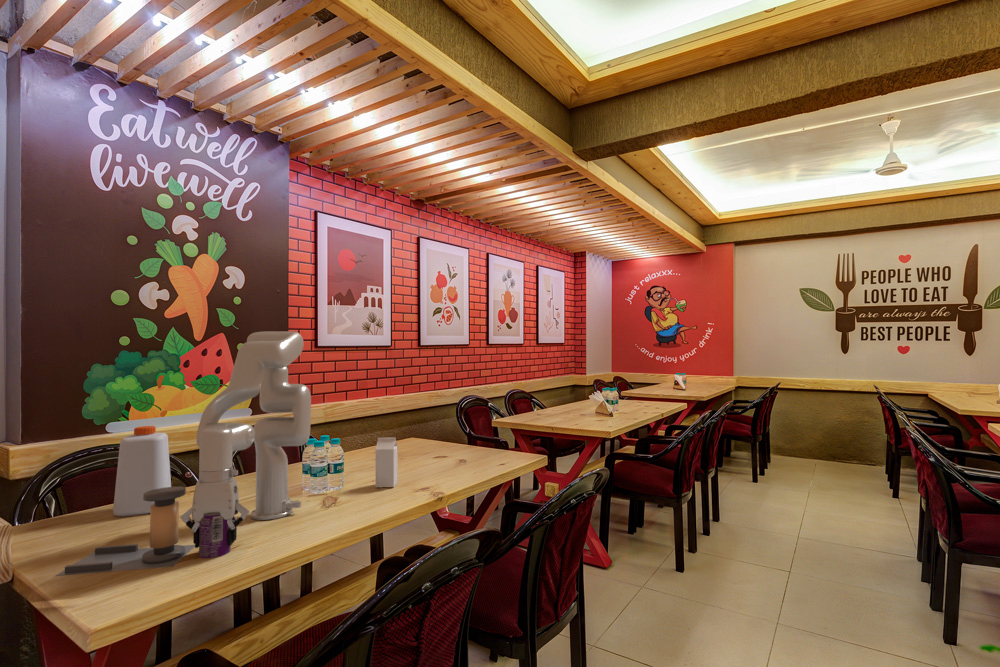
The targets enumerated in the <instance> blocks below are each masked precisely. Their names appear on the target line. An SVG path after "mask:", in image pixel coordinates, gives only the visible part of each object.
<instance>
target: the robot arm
mask: <svg viewBox="0 0 1000 667" xmlns="http://www.w3.org/2000/svg"><path fill="white" fill-rule="evenodd" d="M304 343H305V342H304V338H303V336H302V335H301V334H300V333H299V332H297V331H290V330H289V331H287V330H286V331H283V330H282V331H276V330H275V331H273V330H272V331H270V330H269V331H267V330H266V331H257V332H252V333H251V334H249V335H248V336H247V338H246V342H244V343H243V344H242V345H240V347H239V349H238V351H237V355H236V358H235V360H234V365H233V368H232V371H231V375H230V379H229V381H228V382H229V383H228V385H227V386H226V388H225V389H224V390H222V391H220V392H219V393H218V394H217V395H216V396H215V397H214V398H213V399H212V400H211V401H210V402H209V403H208V404H207V405H206V406H205V409H204V410H203V412H202V414H201V417H200V420H199V424H198V427H197V430H196V439H195V440H196V445H197V446H198V448H199V455H198V456H199V460H198V461H199V464H198V467H199V468H198V469H199V470H198V471H199V472H198V481H197V482H196V484H195V488H194V493H193V499H192V507H190V508H189V509H188V510H187V511H185V512H184V513H183V514H182V515H181V516H180V519H181V521H182V522H183V523H184V524H185V525H186V526H187V527H188V528H189V529H190V531H191V532H192V535H193V538H192V540H193V541H192V542H193V545H195V547H194V548H195V549H199V525H200V520H201V519H202V518H203V516H204V515H203V514H214V513H221V514H220V515H221V516H222V517H223V518H224V519H225V520H227V524H228V526H229V527H230V529H229V530H228V546H230V545H231V546H232V545H233V543H235V541H236V540H237V535H238V534H237V529H238V528H237V527H238V526H239V525H240V524H241V523H242V522H243V521H244V519H246V517H247V516H248V515H249V514H250V518H251V519H253V520H256V521H257V520H258V521H269V520H275V519H281V518H284V517H286V516H289V515H290V514H291V513H293V511H294V510H293V509H297V508H298V509H299V508H300V509H301V508H302V501H300V500H292V499H291V496H289V495H288V493H289V492H288V485H289V484H288V482H289V480H288V478H289V476H288V472H289V470H288V468H289V460H288V455H287V454H286V451H285V450H284V448H282V447H300V446H304V445H306V444H307V443H308V441H309V439H310V436H311V420H312V416H311V415H312V414H311V413H312V395H311V392H310V388H309V387H308V386H307V385H305V384H303V383H289V368H288V366H289V365H291V364H292V363H293V362H294V361H296V359H298V358H299V357H300V356H301V354H302V353H303V350H304ZM258 395H259V407H260V410H261V411H262V412H265V413H270V414H276V413H277V414H284V413H285V414H288V413H289V414H291V413H292V414H293V416H269V417H268V416H267V417H263V418H259V420H257V421H256V422H255V423H254V426H252V425H251V424H249V423H246V422H219V420H221V418H222V416H223V415H224V414H225V413H226V412H227V411H229V410H230V409H231V408H233V407H236V406H237V405H239V404H242V403H244V402H246V401H248V400H250V399H253V398H255V397H257V396H258ZM253 444H254V446H255V509H254V510H252V511H250V510H249V509H248V508H246V507H245V506H244V505H243V504H241V503H240V497H239V490H238V489H239V488H238V483H237V479H236V478H235V477H234V476H238V475H239V470H237V469H234V467H233V452H236V451H237V452H239V451H243V450H244V451H245V450H247V449H248V448H250V447H251V446H252V445H253ZM239 513H240V515H239V517H238V518H236V516H235V515H238V514H239Z"/></svg>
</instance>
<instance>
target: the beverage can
mask: <svg viewBox="0 0 1000 667" xmlns="http://www.w3.org/2000/svg"><path fill="white" fill-rule="evenodd" d="M220 514H221V513H214V514H203V515H204V516H203V518H202V519H201V520H200V525H199V547H198V557H199V558H200V559H215V558H219V557H223V556H226V555H227V554H229V553H230V552H231V548H232V547H231V546H232V545H230V546H228V530H229V529H230V527H229V526H228V524H227V520H225V519H224V518H223V517H222V516H221V515H220Z"/></svg>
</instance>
